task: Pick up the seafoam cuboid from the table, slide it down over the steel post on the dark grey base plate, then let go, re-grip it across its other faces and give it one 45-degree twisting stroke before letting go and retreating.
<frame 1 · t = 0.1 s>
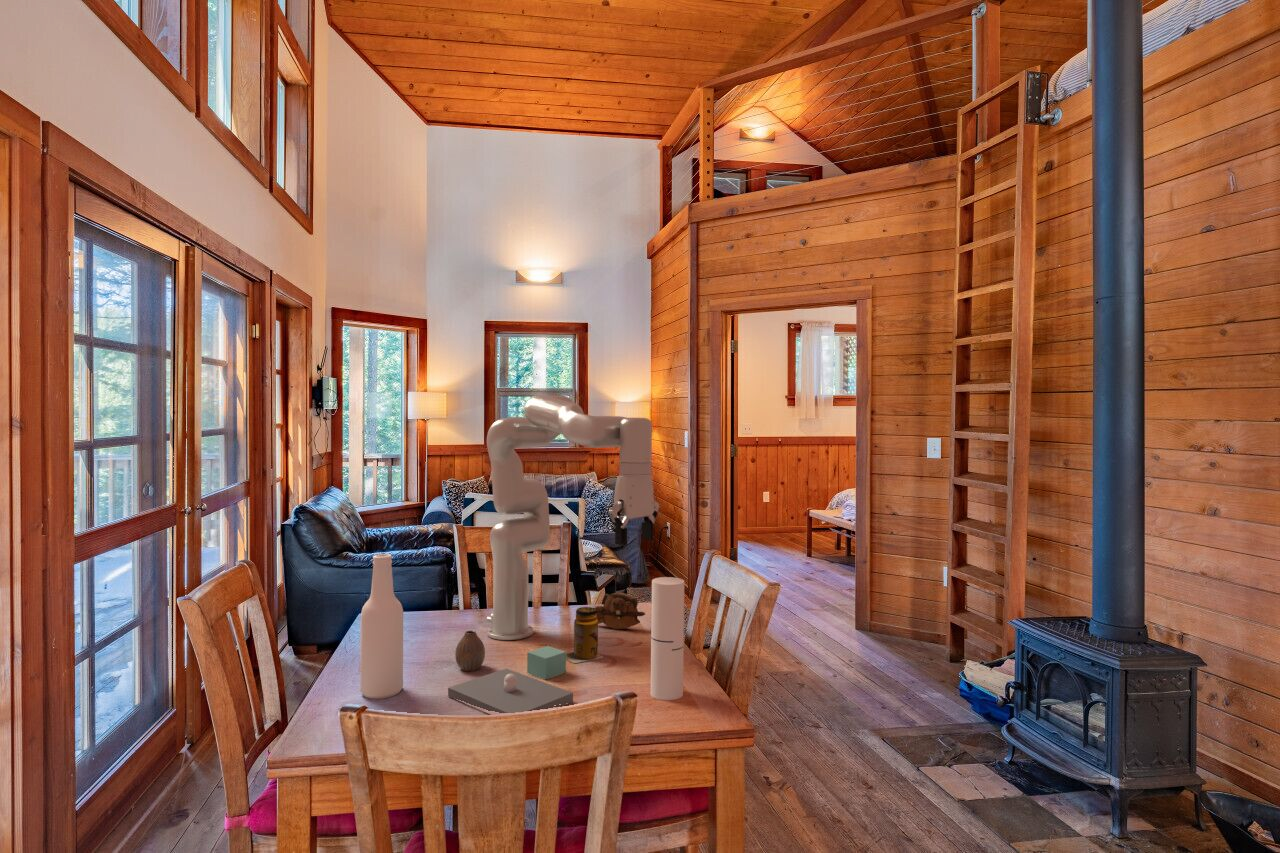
hand: (634, 542, 174), 31 cm above the table, tool pointing down, fingers open, 9 cm apart
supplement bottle: (582, 657, 186), on the table
seafoam cuboid: (546, 673, 174), on the table
vase: (470, 669, 177), on the table
alcohol: (381, 692, 161), on the table
wooden carving: (617, 629, 211), on the table
beige long cylinder: (666, 694, 162), on the table
post base: (510, 699, 158), on the table
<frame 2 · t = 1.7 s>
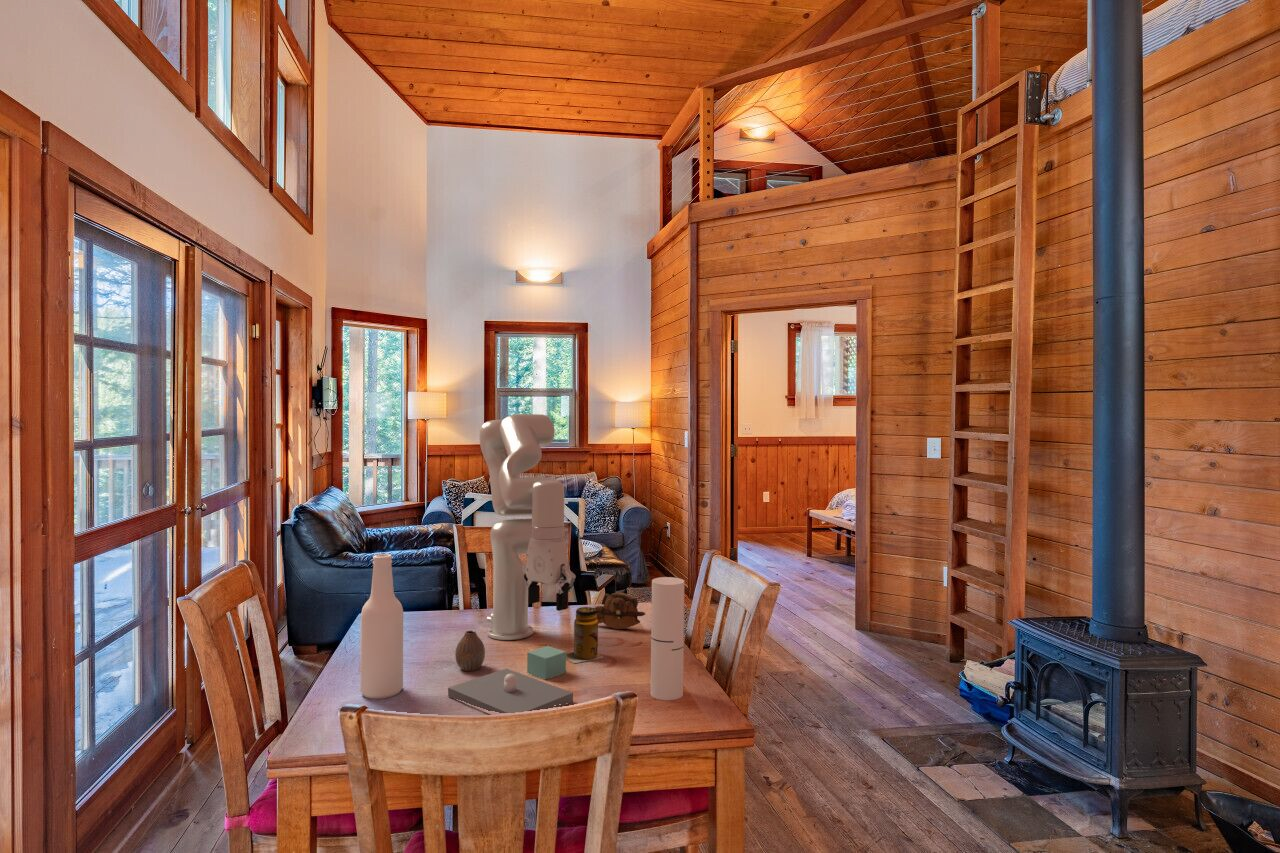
hand: (547, 606, 173), 16 cm above the table, tool pointing down, fingers open, 9 cm apart
nothing on the table moved.
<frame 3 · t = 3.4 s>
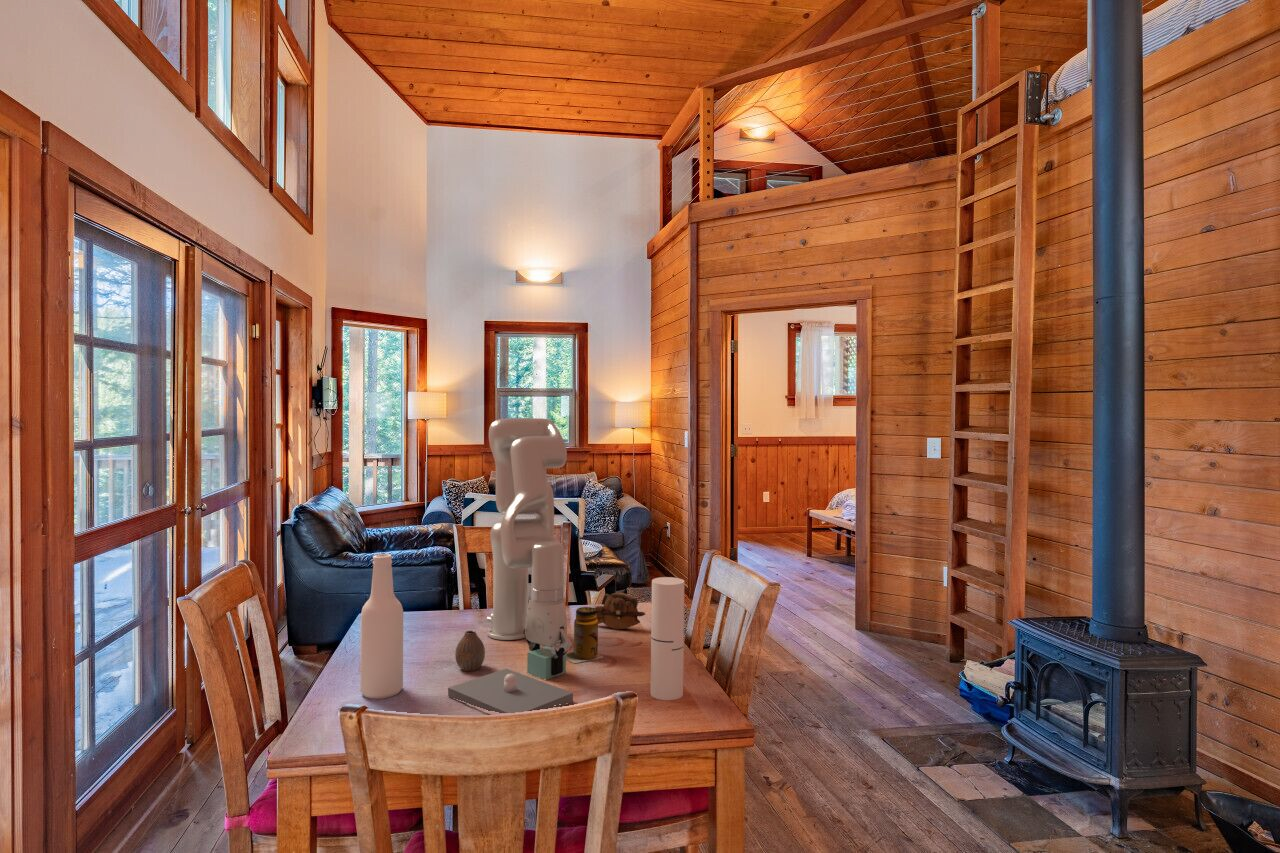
hand: (546, 669, 174), 1 cm above the table, tool pointing down, fingers closed on seafoam cuboid, 6 cm apart
seafoam cuboid: (546, 673, 174), on the table, touching gripper
everything else where it was.
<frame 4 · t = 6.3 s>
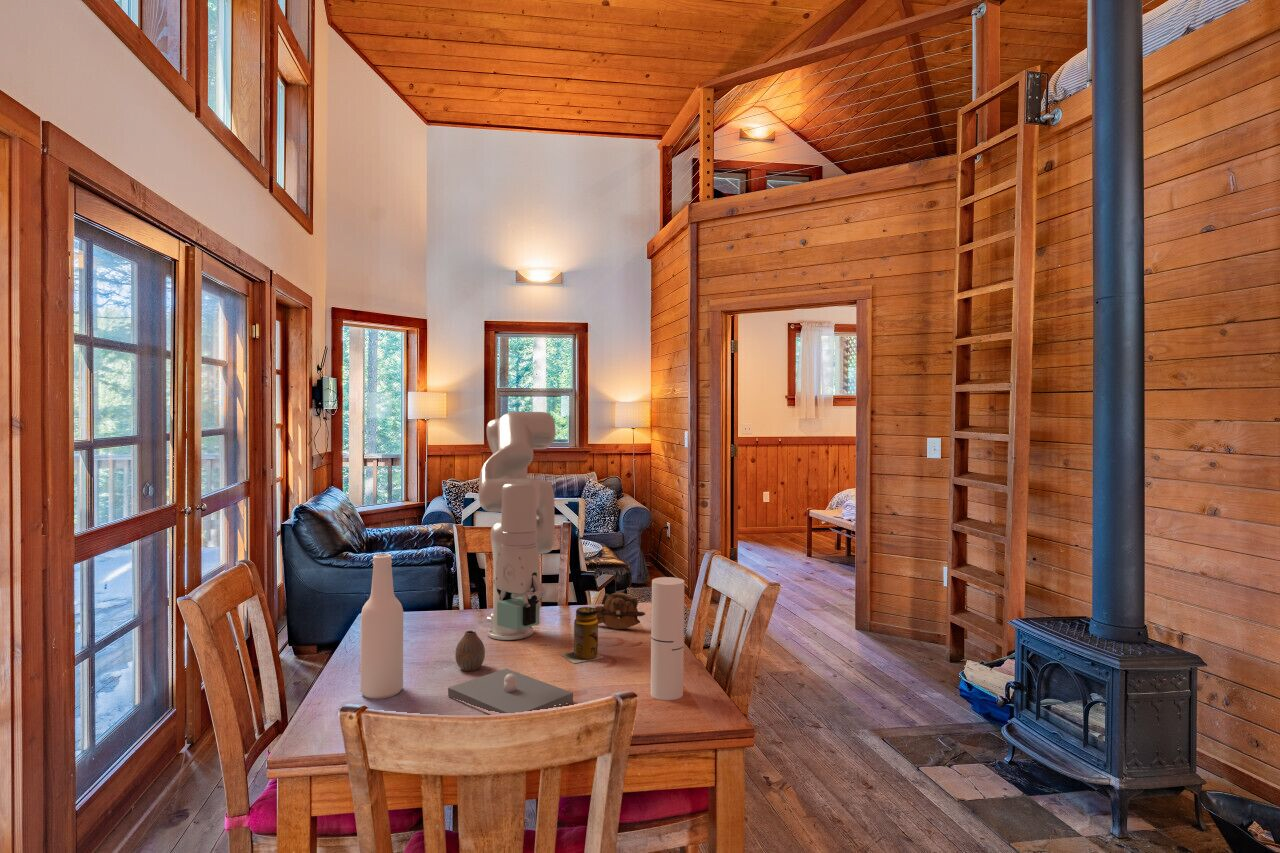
hand: (518, 620, 160), 16 cm above the table, tool pointing down, fingers closed on seafoam cuboid, 6 cm apart
seafoam cuboid: (518, 624, 160), point 15 cm above the table, touching gripper
everything else where it was.
when the fingers open (4 cm above the table, at t = 9.2 s): seafoam cuboid stays where it is, resting on post base.
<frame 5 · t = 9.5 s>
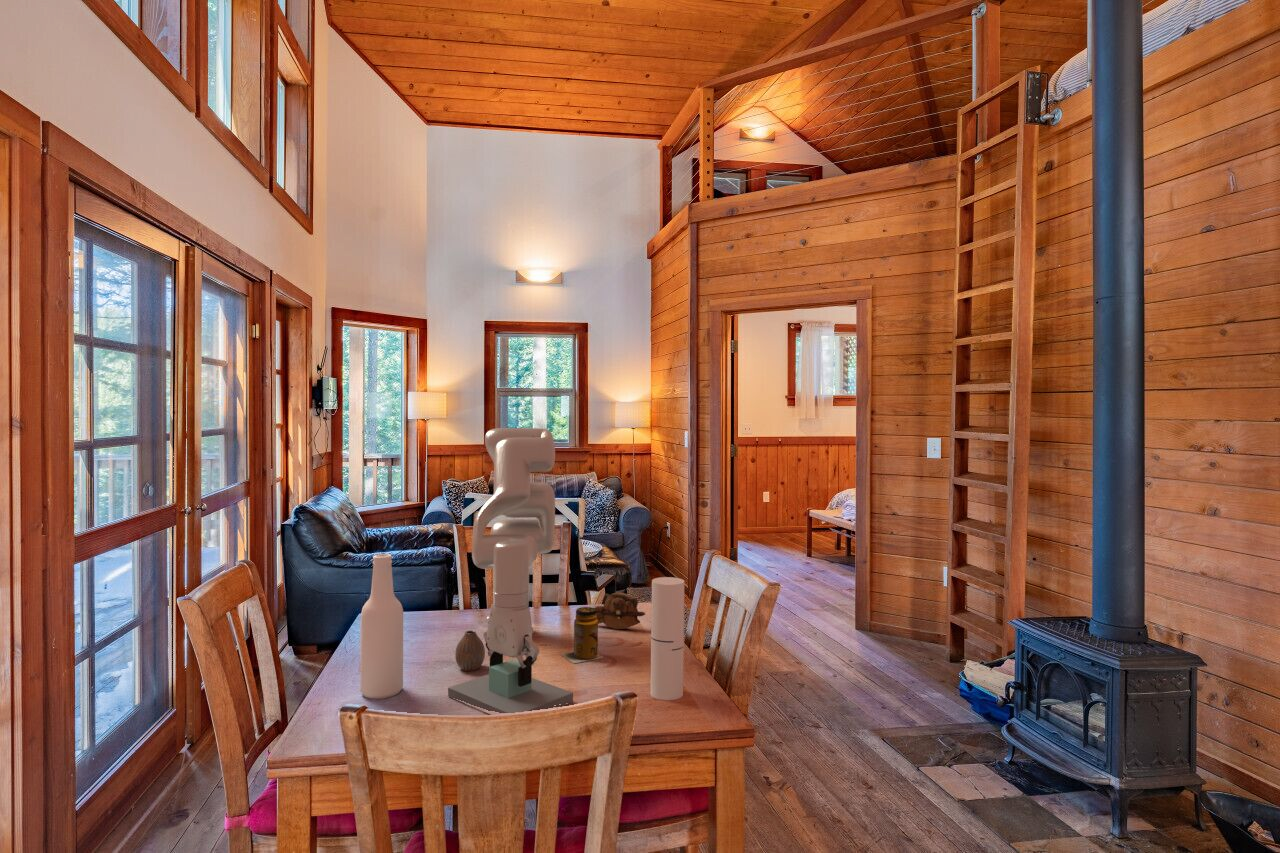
hand: (510, 679, 158), 4 cm above the table, tool pointing down, fingers open, 9 cm apart
seafoam cuboid: (510, 690, 158), point 2 cm above the table, touching post base
everything else where it was.
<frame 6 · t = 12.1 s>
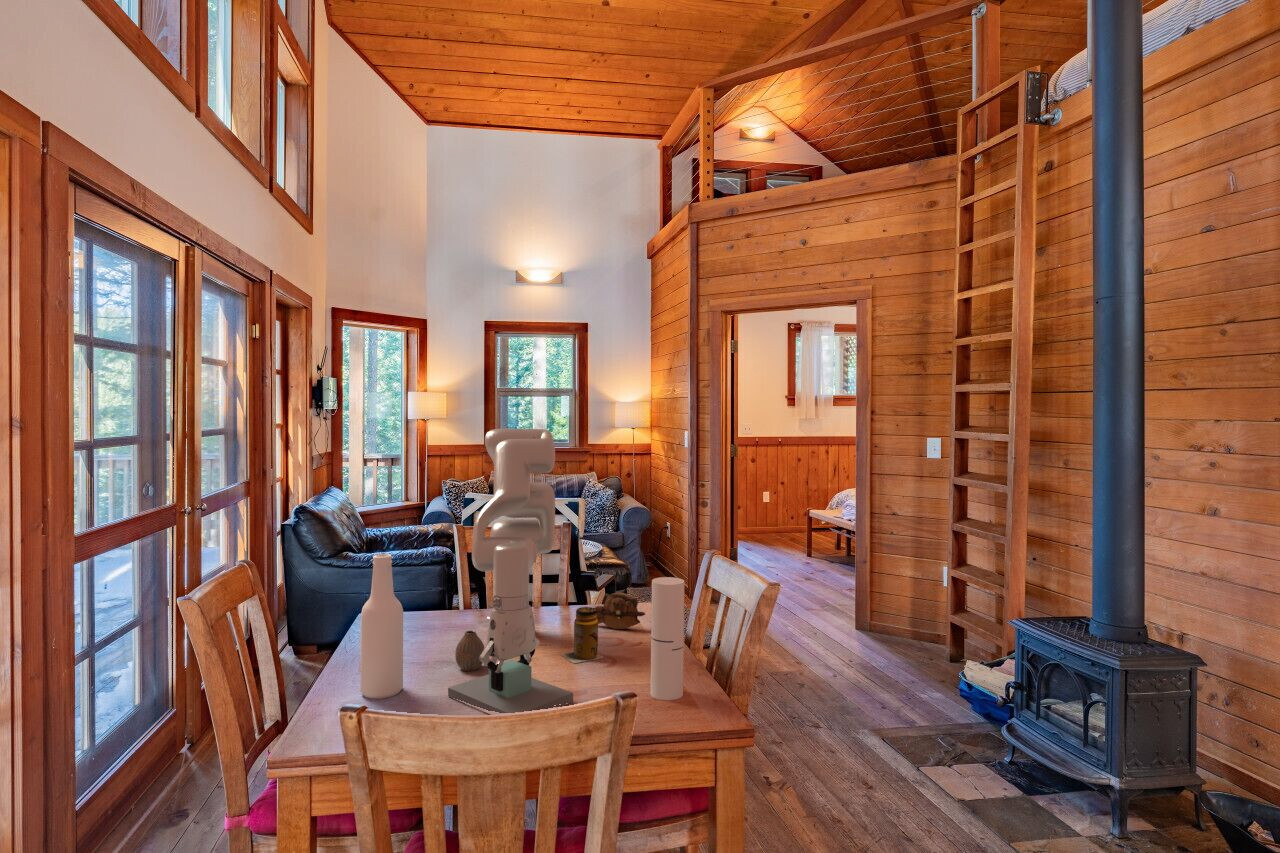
hand: (510, 684, 158), 3 cm above the table, tool pointing down, fingers closed on seafoam cuboid, 6 cm apart
seafoam cuboid: (510, 690, 158), point 2 cm above the table, touching gripper, post base
everything else where it was.
when the fingers open (3 cm above the table, at t = 13.3 s): seafoam cuboid stays where it is, resting on post base.
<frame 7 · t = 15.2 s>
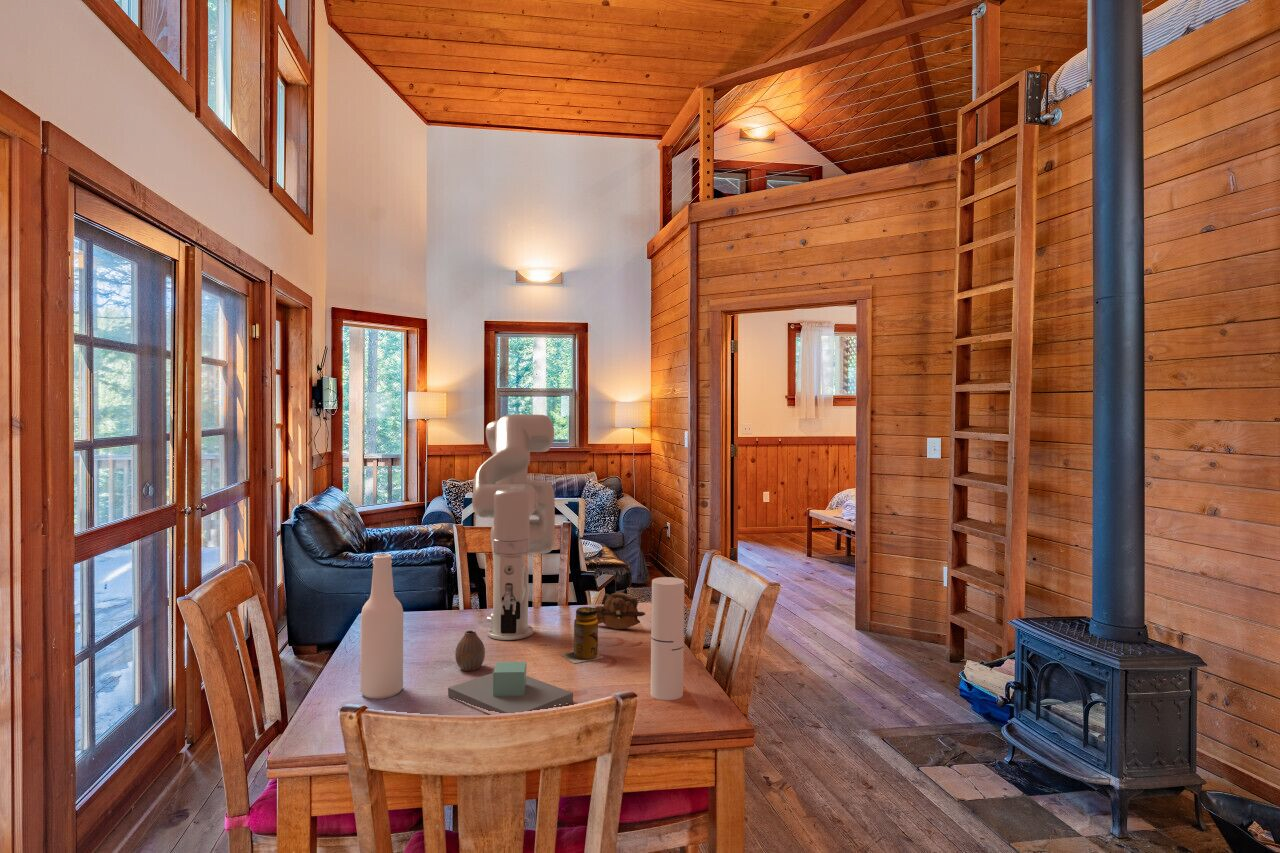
hand: (510, 625, 158), 16 cm above the table, tool pointing down, fingers open, 9 cm apart
seafoam cuboid: (510, 690, 158), point 2 cm above the table, touching post base
everything else where it was.
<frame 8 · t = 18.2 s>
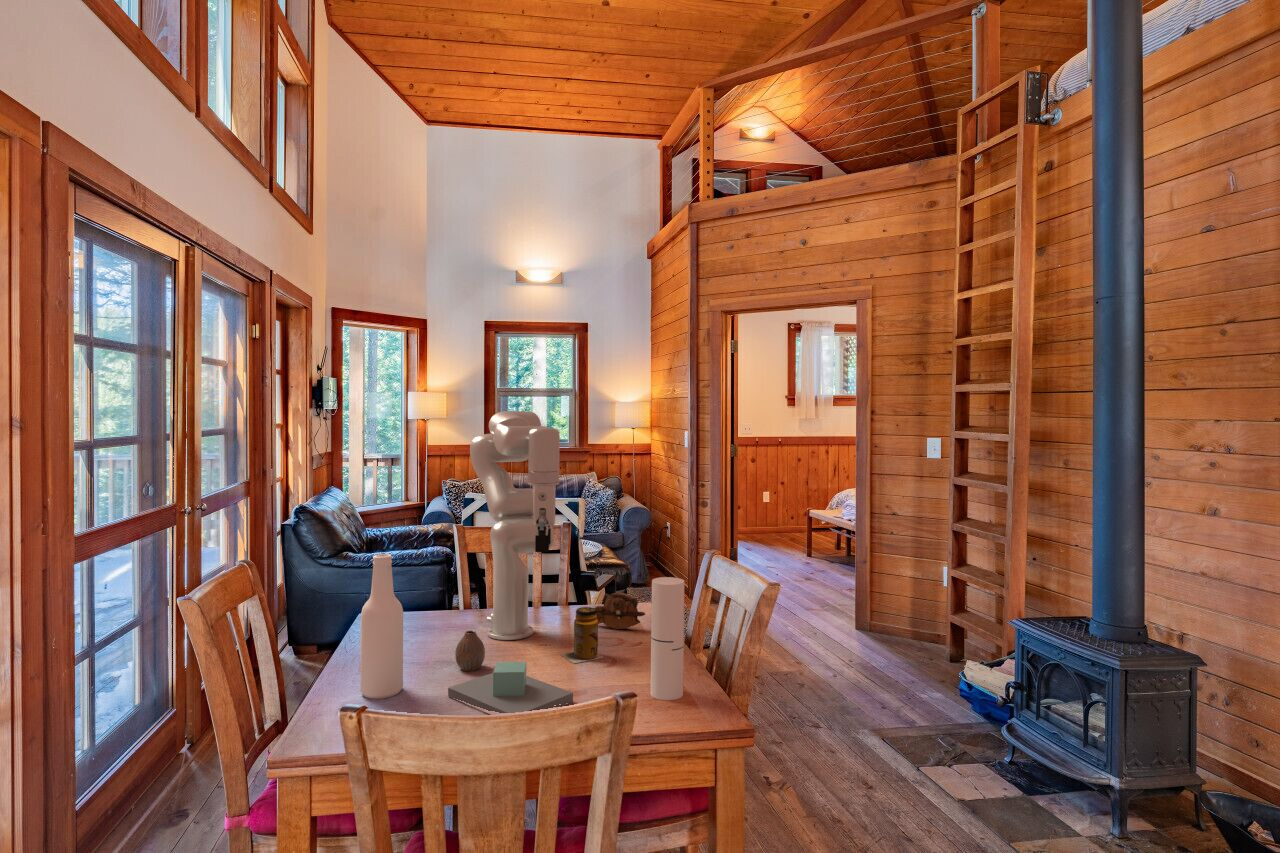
hand: (543, 548, 180), 28 cm above the table, tool pointing down, fingers open, 9 cm apart
nothing on the table moved.
at the end: seafoam cuboid 0.1 cm from the post base (horizontally); seafoam cuboid point 2.0 cm above the table; seafoam cuboid tilted 0° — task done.
